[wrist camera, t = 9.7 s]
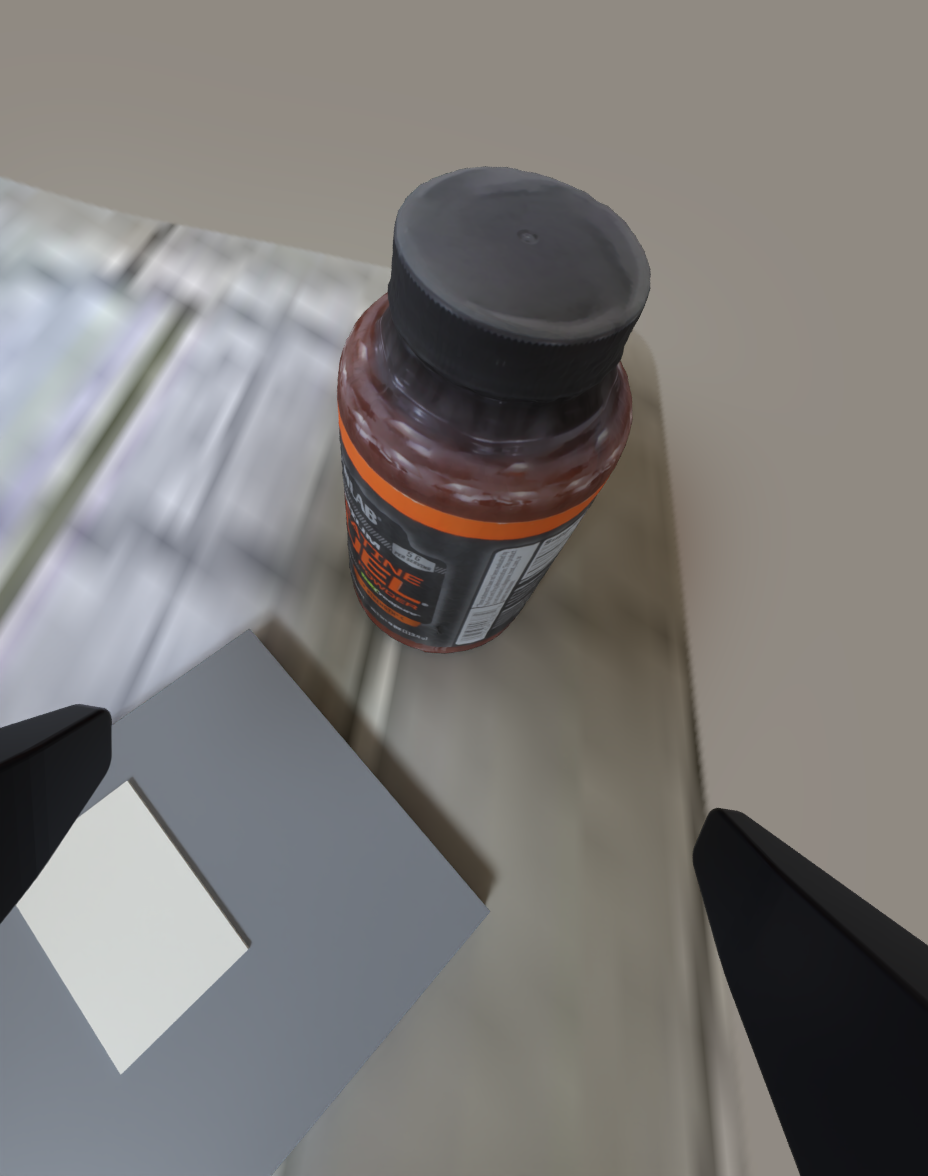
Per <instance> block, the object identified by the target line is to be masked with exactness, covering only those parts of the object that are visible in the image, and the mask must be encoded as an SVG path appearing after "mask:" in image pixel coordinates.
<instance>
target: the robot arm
mask: <svg viewBox="0 0 928 1176" xmlns="http://www.w3.org/2000/svg"><path fill="white" fill-rule="evenodd" d="M111 759H112V719H111V714H110V712H109V711H108V710H107V709H105V708H101V707H95V706H89V705H82V704H75V705H71V706H68V707H65V708H62V709H59V710H56V711H52V712H49V713H46V714H43V715H40V716H37V717H33V718H30V719H27V720H24V721H21V722H18V723H14V724H11V725H8V726H5V727H2V728H0V924H1V923H2V922H3V920H4V919H5V918H6V917H7V915H8V914H9V913H10V912H11V910H12V909H13V908H14V907H15V905H16V904H17V903H18V902H19V900H20V899H21V898H22V897H23V895H24V894H25V893H26V891H27V890H28V889H29V888H30V886H31V885H32V884H33V882H34V881H35V880H36V879H37V877H38V876H39V874H40V873H41V872H42V870H43V869H44V867H45V866H46V864H47V863H48V862H49V860H50V859H51V857H52V856H53V854H54V853H55V851H56V850H57V848H58V847H59V845H60V844H61V842H62V841H63V839H64V837H65V836H66V834H67V833H68V831H69V830H70V828H71V827H72V825H73V824H74V822H75V821H76V819H77V818H78V816H79V815H80V813H81V812H82V810H83V809H84V807H85V806H86V804H87V803H88V801H89V800H90V798H91V797H92V795H93V794H94V792H95V791H96V789H97V788H98V786H99V785H100V783H101V782H102V780H103V779H104V777H105V775H106V774H107V772H108V770H109V767H110V764H111ZM693 865H694V870H695V873H696V877H697V880H698V884H699V887H700V891H701V894H702V898H703V902H704V905H705V909H706V912H707V916H708V919H709V923H710V926H711V930H712V934H713V937H714V941H715V944H716V948H717V951H718V955H719V958H720V961H721V964H722V968H723V971H724V974H725V977H726V979H727V982H728V985H729V988H730V991H731V993H732V996H733V999H734V1001H735V1004H736V1007H737V1009H738V1012H739V1015H740V1017H741V1020H742V1022H743V1025H744V1028H745V1030H746V1033H747V1035H748V1038H749V1041H750V1044H751V1046H752V1049H753V1052H754V1054H755V1057H756V1059H757V1062H758V1065H759V1067H760V1070H761V1073H762V1075H763V1078H764V1081H765V1083H766V1086H767V1088H768V1091H769V1094H770V1096H771V1099H772V1102H773V1104H774V1107H775V1110H776V1113H777V1115H778V1118H779V1120H780V1123H781V1126H782V1128H783V1131H784V1134H785V1136H786V1139H787V1142H788V1144H789V1147H790V1149H791V1152H792V1155H793V1157H794V1160H795V1163H796V1165H797V1168H798V1171H799V1173H800V1176H928V945H927V944H925V943H924V942H922V941H921V940H920V939H918V938H917V937H915V936H914V935H912V934H911V933H910V932H908V931H907V930H906V929H904V928H903V927H901V926H900V925H898V924H897V923H896V922H894V921H893V920H892V919H890V918H889V917H887V916H886V915H885V914H883V913H882V912H880V911H879V910H878V909H876V908H875V907H873V906H872V905H871V904H869V903H868V902H866V901H865V900H864V899H862V898H861V897H859V896H858V895H857V894H855V893H854V892H853V891H851V890H850V889H848V888H847V887H845V886H844V885H843V884H841V883H840V882H839V881H837V880H836V879H834V878H833V877H832V876H830V875H829V874H827V873H826V872H825V871H823V870H822V869H820V868H819V867H818V866H816V865H815V864H813V863H812V862H811V861H809V860H808V859H807V858H805V857H803V856H802V855H801V854H800V853H798V852H797V851H795V850H794V849H793V848H791V847H790V846H788V845H787V844H786V843H784V842H783V841H781V840H780V839H779V838H777V837H776V836H774V835H773V834H772V833H770V832H769V831H767V830H766V829H764V828H763V827H762V826H760V825H759V824H758V823H756V822H755V821H753V820H752V819H751V818H749V817H748V816H746V815H745V814H743V813H741V812H739V811H734V810H728V809H721V808H715V809H713V810H711V811H710V812H709V814H708V816H707V818H706V820H705V823H704V825H703V827H702V830H701V832H700V834H699V837H698V839H697V841H696V844H695V846H694V849H693Z"/></svg>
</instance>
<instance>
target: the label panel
mask: <svg viewBox="0 0 928 1176" xmlns="http://www.w3.org/2000/svg"><path fill="white" fill-rule="evenodd" d="M489 912H490V911H489V909H488V908H487V907H486V906H485V905H484V904H483V902H482V901H481V900H480V899H479V898H478V897H477V895H476V894H475V893H474V892H473V891H472V889H471V888H470V887H469V886H468V885H467V884H466V882H465V881H464V880H463V879H462V878H461V877H460V875H459V874H458V873H457V872H456V871H455V870H454V868H453V867H452V866H451V865H450V864H449V862H448V861H447V860H446V859H445V858H444V857H443V855H442V854H441V853H440V852H439V851H438V850H437V848H436V847H435V846H434V845H433V844H432V842H431V841H430V840H429V839H428V838H427V837H426V835H425V834H424V833H423V832H422V831H421V830H420V828H419V827H418V826H417V825H416V824H415V822H414V821H413V820H412V819H411V818H410V817H409V815H408V814H407V813H406V812H405V811H404V810H403V808H402V807H401V806H400V805H399V804H398V803H397V801H396V800H395V799H394V798H393V797H392V795H391V794H390V793H389V792H388V791H387V790H386V788H385V787H384V786H383V785H382V784H381V783H380V781H379V780H378V779H377V778H376V777H375V775H374V774H373V773H372V772H371V771H370V770H369V768H368V767H367V766H366V765H365V764H364V763H363V761H362V760H361V759H360V758H359V757H358V755H357V754H356V753H355V752H354V751H353V750H352V748H351V747H350V746H349V745H348V744H347V743H346V741H345V740H344V739H343V738H342V737H341V736H340V734H339V733H338V732H337V731H336V730H335V728H334V727H333V726H332V725H331V724H330V723H329V721H328V720H327V719H326V718H325V717H324V716H323V714H322V713H321V712H320V711H319V710H318V708H317V707H316V706H315V705H314V704H313V703H312V701H311V700H310V699H309V698H308V697H307V696H306V694H305V693H304V692H303V691H302V690H301V688H300V687H299V686H298V685H297V684H296V683H295V681H294V680H293V679H292V678H291V677H290V676H289V674H288V673H287V672H286V671H285V670H284V669H283V667H282V666H281V665H280V664H279V663H278V661H277V660H276V659H275V658H274V657H273V656H272V654H271V653H270V652H269V651H268V650H267V649H266V647H265V646H264V645H263V644H262V643H261V641H260V640H259V639H258V638H257V637H256V636H255V634H254V633H253V632H252V631H251V630H250V629H248V630H247V631H245V632H244V633H243V634H241V635H240V636H238V637H237V638H235V639H234V640H233V641H231V642H230V643H228V644H227V645H225V646H224V647H223V648H221V649H220V650H218V651H217V652H216V653H214V654H213V655H211V656H210V657H208V658H207V659H206V660H204V661H203V662H201V663H200V664H199V665H197V666H196V667H194V668H193V669H191V670H190V671H189V672H187V673H186V674H184V675H183V676H181V677H180V678H179V679H177V680H176V681H174V682H173V683H172V684H170V685H169V686H167V687H166V688H164V689H163V690H162V691H160V692H159V693H157V694H156V695H155V696H153V697H152V698H150V699H149V700H147V701H146V702H145V703H143V704H142V705H140V706H139V707H137V708H136V709H135V710H133V711H132V712H130V713H129V714H128V715H126V716H125V717H123V718H122V719H120V720H119V721H118V722H116V723H115V724H113V725H112V759H111V764H110V767H109V770H108V772H107V774H106V775H105V777H104V779H103V780H102V782H101V783H100V785H99V786H98V788H97V789H96V791H95V792H94V794H93V795H92V797H91V798H90V800H89V801H88V803H87V804H86V806H85V807H84V809H83V810H82V812H81V813H80V815H79V816H78V818H77V819H76V821H75V822H74V824H73V825H72V827H71V828H70V830H69V831H68V833H67V834H66V836H65V837H64V839H63V841H62V842H61V844H60V845H59V847H58V848H57V850H56V851H55V853H54V854H53V856H52V857H51V859H50V860H49V862H48V863H47V864H46V866H45V867H44V869H43V870H42V872H41V873H40V874H39V876H38V877H37V879H36V880H35V881H34V882H33V884H32V885H31V886H30V888H29V889H28V890H27V891H26V893H25V894H24V895H23V897H22V898H21V899H20V900H19V902H18V903H17V904H16V905H15V907H14V908H13V909H12V910H11V912H10V913H9V914H8V915H7V917H6V918H5V919H4V920H3V922H2V923H1V924H0V1176H271V1175H272V1174H273V1173H274V1172H275V1170H276V1169H277V1168H278V1167H279V1166H280V1164H281V1163H282V1162H283V1161H284V1160H285V1158H286V1157H287V1156H288V1155H289V1154H290V1152H291V1151H292V1150H293V1149H294V1148H295V1146H296V1145H297V1144H298V1143H299V1142H300V1140H301V1139H302V1138H303V1137H304V1136H305V1134H306V1133H307V1132H308V1131H309V1129H310V1128H311V1127H312V1126H313V1125H314V1123H315V1122H316V1121H317V1120H318V1119H319V1117H320V1116H321V1115H322V1114H323V1113H324V1111H325V1110H326V1109H327V1108H328V1107H329V1105H330V1104H331V1103H332V1102H333V1101H334V1099H335V1098H336V1097H337V1096H338V1095H339V1093H340V1092H341V1091H342V1090H343V1088H344V1087H345V1086H346V1085H347V1084H348V1082H349V1081H350V1080H351V1079H352V1078H353V1076H354V1075H355V1074H356V1073H357V1072H358V1070H359V1069H360V1068H361V1067H362V1066H363V1064H364V1063H365V1062H366V1061H367V1060H368V1058H369V1057H370V1056H371V1055H372V1054H373V1052H374V1051H375V1050H376V1049H377V1048H378V1046H379V1045H380V1044H381V1043H382V1041H383V1040H384V1039H385V1038H386V1037H387V1035H388V1034H389V1033H390V1032H391V1031H392V1029H393V1028H394V1027H395V1026H396V1025H397V1023H398V1022H399V1021H400V1020H401V1019H402V1017H403V1016H404V1015H405V1014H406V1013H407V1011H408V1010H409V1009H410V1008H411V1007H412V1005H413V1004H414V1003H415V1002H416V1000H417V999H418V998H419V997H420V996H421V994H422V993H423V992H424V991H425V990H426V988H427V987H428V986H429V985H430V984H431V982H432V981H433V980H434V979H435V978H436V976H437V975H438V974H439V973H440V972H441V970H442V969H443V968H444V967H445V966H446V964H447V963H448V962H449V961H450V960H451V958H452V957H453V956H454V955H455V953H456V952H457V951H458V950H459V949H460V947H461V946H462V945H463V944H464V943H465V941H466V940H467V939H468V938H469V937H470V935H471V934H472V933H473V932H474V931H475V929H476V928H477V927H478V926H479V925H480V923H481V922H482V921H483V920H484V919H485V917H486V916H487V915H488V914H489Z"/></svg>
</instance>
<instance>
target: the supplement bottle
mask: <svg viewBox="0 0 928 1176" xmlns="http://www.w3.org/2000/svg"><path fill="white" fill-rule="evenodd" d="M650 275H651V274H650V267H649V263H648V260H647V258H646V255H645V251H644V250H643V248H642V246H641V245H640V243H639V241H638V239H637V238H636V236H635V235H634V233H633V232H632V231H631V229H630V228H629V226H628V225H627V223H626V222H625V221H624V220H623V219H622V218H621V217H619V216H618V215H617V214H616V213H615V212H614V211H613V210H612V209H611V208H610V207H608V206H607V205H604V204H602V203H600V202H598V201H596V200H595V199H594V198H592V197H591V196H590V195H589V194H587V193H586V192H584V191H582V190H579V189H577V188H575V187H573V186H570V185H568V184H565V183H563V182H560V181H558V180H556V179H553V178H551V177H547V176H543V175H540V174H537V173H533V172H525V171H521V170H518V169H513V168H508V167H486V166H485V167H476V168H465V169H460V170H457V171H454V172H450V173H446V174H443V175H441V176H438V177H435V178H433V179H431V180H429V181H428V182H425V183H423V184H421V185H419V186H418V187H417V188H416V189H415V190H414V191H413V192H412V193H411V194H410V195H409V196H407V198H406V199H405V201H404V203H403V205H402V206H401V207H400V209H399V211H398V214H397V218H396V221H395V227H394V237H393V257H392V271H391V279H390V282H389V284H388V292H387V293H386V294H384V295H383V296H382V297H381V298H379V299H378V300H377V301H376V302H374V303H373V304H372V305H371V306H370V307H369V308H368V309H367V310H366V311H365V312H364V313H363V314H362V315H361V317H360V318H359V319H358V321H357V322H356V323H355V325H354V327H353V329H352V331H351V332H350V335H349V337H348V338H347V339H346V342H345V345H344V348H343V351H342V355H341V358H340V363H339V372H338V386H337V400H338V413H339V433H340V444H341V458H342V461H341V462H342V467H343V471H342V474H343V482H344V493H345V505H346V520H347V524H346V525H347V531H348V533H347V534H348V549H349V567H350V570H351V576H352V579H353V583H354V589H355V591H356V594H357V596H358V599H359V601H360V603H361V605H362V607H363V609H364V610H365V612H366V614H367V615H368V617H369V618H370V619H371V620H372V621H373V622H374V623H375V624H376V625H377V626H378V627H379V628H380V629H381V630H382V631H384V632H385V633H386V634H388V635H389V636H390V637H392V638H394V639H395V640H397V641H399V642H401V643H403V644H405V645H408V646H410V647H413V648H416V649H420V650H423V651H424V652H430V653H453V652H459V651H466V650H469V649H472V648H475V647H478V646H481V645H483V644H486V643H487V642H489V641H491V640H493V639H494V638H495V637H497V636H498V635H500V634H501V633H502V632H503V631H504V630H505V629H506V628H507V627H508V626H509V625H510V623H511V622H512V621H513V620H514V619H515V617H516V616H517V615H518V614H519V612H520V611H521V609H522V608H523V607H524V605H525V603H526V602H527V600H528V599H529V598H530V596H531V594H532V593H533V591H534V590H535V588H536V587H537V585H538V584H539V582H540V581H541V579H542V578H543V576H544V575H545V573H546V572H547V570H548V569H549V567H550V565H551V564H552V563H553V561H554V559H555V558H556V557H557V555H558V554H559V552H560V551H561V549H562V548H563V546H564V544H565V543H566V541H567V540H568V538H569V537H570V535H571V534H572V532H573V531H574V530H575V528H576V527H577V525H578V523H579V522H580V520H581V519H582V518H583V516H584V514H585V513H586V511H587V510H588V509H589V507H590V506H591V504H592V503H593V501H594V499H595V498H596V496H597V494H598V493H599V491H600V490H601V488H602V487H603V485H604V484H605V482H606V481H607V479H608V478H609V476H610V474H611V473H612V471H613V470H614V468H615V467H616V465H617V463H618V461H619V458H620V456H621V454H622V452H623V450H624V448H625V446H626V442H627V439H628V436H629V433H630V428H631V424H632V396H631V391H630V386H629V383H628V376H627V374H626V371H625V369H624V367H623V365H622V363H621V361H620V360H621V357H622V354H623V350H624V346H625V344H626V342H627V340H628V337H629V335H630V333H631V332H632V330H633V327H634V326H635V324H636V322H637V321H638V319H639V317H640V315H641V313H642V311H643V308H644V306H645V303H646V301H647V298H648V294H649V291H650Z"/></svg>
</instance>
